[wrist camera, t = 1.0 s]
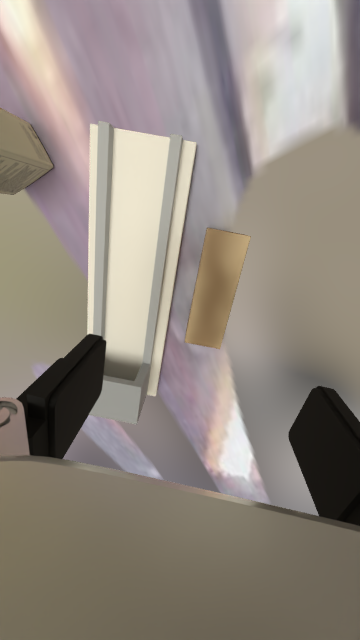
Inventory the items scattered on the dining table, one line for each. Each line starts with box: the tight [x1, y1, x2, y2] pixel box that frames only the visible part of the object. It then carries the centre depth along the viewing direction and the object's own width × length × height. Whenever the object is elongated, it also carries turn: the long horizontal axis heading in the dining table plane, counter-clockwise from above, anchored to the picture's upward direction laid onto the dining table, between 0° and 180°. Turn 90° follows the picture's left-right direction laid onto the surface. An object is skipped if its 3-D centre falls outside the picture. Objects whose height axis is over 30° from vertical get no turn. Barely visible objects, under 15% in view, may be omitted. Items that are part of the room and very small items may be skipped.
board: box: [88, 121, 197, 424], centre depth 25 cm, size 10×30×7 cm, turn 170°
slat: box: [185, 228, 251, 349], centre depth 26 cm, size 4×12×4 cm, turn 170°
